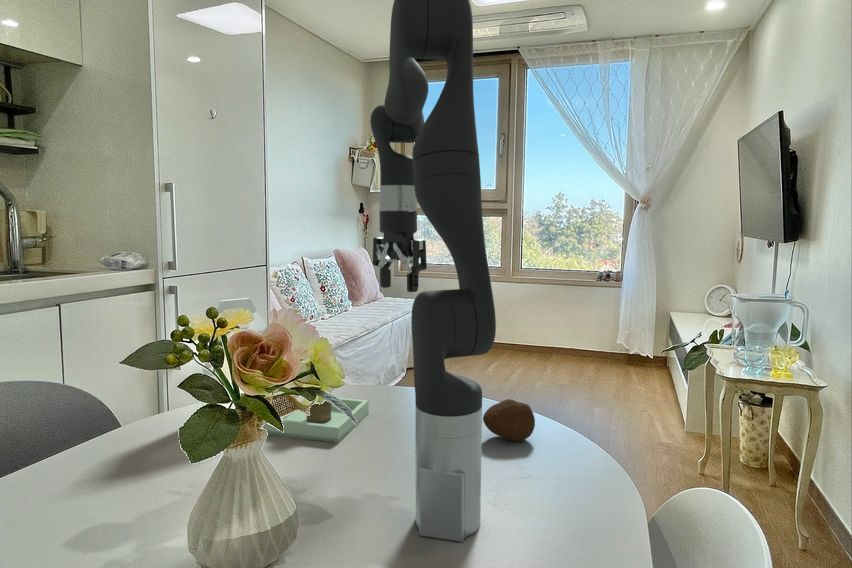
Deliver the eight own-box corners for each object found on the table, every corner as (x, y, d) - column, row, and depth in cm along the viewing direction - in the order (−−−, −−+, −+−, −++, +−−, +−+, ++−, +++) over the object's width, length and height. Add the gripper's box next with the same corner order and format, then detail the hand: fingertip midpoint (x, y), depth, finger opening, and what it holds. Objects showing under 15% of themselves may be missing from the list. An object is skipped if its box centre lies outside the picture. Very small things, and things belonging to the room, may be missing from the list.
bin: (338, 442, 105) (338, 427, 105) (264, 434, 109) (263, 419, 109) (368, 413, 121) (368, 400, 120) (302, 407, 125) (301, 394, 124)
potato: (538, 446, 104) (539, 406, 103) (487, 448, 103) (487, 408, 102) (527, 431, 111) (528, 393, 110) (479, 433, 110) (479, 394, 109)
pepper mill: (325, 425, 112) (323, 372, 111) (301, 422, 113) (300, 370, 112) (335, 416, 117) (334, 365, 116) (313, 413, 118) (311, 363, 117)
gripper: (361, 209, 113) (363, 287, 115) (406, 208, 102) (407, 295, 104) (390, 209, 118) (391, 284, 120) (436, 209, 107) (436, 291, 109)
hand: (398, 289), depth 112 cm, fingers open, 8 cm apart
